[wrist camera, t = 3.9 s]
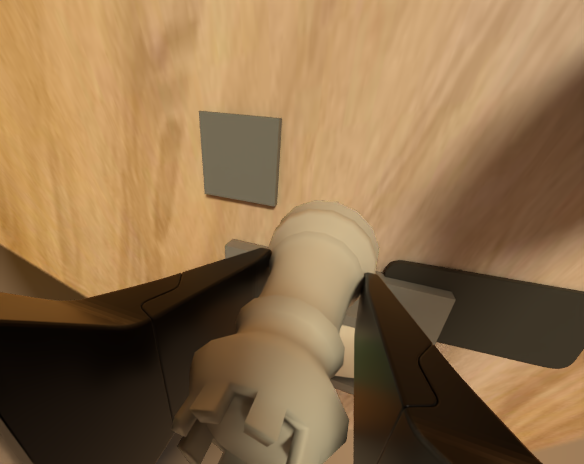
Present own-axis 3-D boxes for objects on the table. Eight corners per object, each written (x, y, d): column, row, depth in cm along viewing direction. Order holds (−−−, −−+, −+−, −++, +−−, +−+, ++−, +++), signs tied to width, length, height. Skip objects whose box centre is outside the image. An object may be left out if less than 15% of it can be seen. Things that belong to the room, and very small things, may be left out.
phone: (566, 373, 20) (372, 327, 23) (559, 364, 20) (372, 321, 24) (621, 299, 17) (388, 260, 20) (610, 292, 17) (387, 255, 21)
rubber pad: (281, 118, 19) (279, 118, 18) (276, 204, 22) (274, 206, 21) (203, 111, 21) (198, 110, 20) (208, 192, 24) (204, 193, 23)
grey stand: (450, 288, 20) (468, 328, 16) (409, 382, 25) (415, 429, 21) (232, 239, 25) (206, 260, 21) (234, 326, 30) (213, 356, 26)
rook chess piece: (382, 288, 11) (398, 585, 4) (289, 288, 12) (178, 500, 5) (373, 189, 9) (373, 382, 2) (268, 203, 11) (79, 345, 4)
